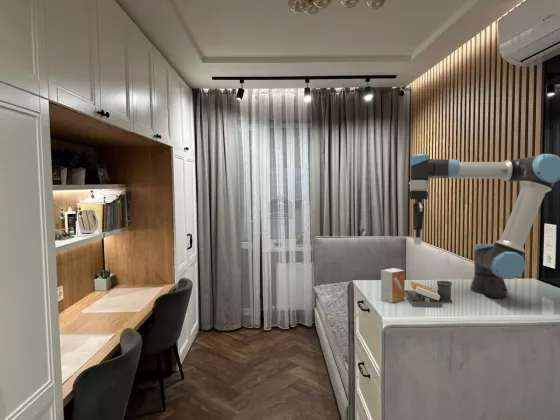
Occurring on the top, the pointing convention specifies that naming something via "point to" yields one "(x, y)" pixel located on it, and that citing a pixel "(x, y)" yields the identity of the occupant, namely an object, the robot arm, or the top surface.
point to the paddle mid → (421, 287)
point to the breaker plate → (421, 300)
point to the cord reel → (444, 291)
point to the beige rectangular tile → (427, 293)
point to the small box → (392, 285)
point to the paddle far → (418, 284)
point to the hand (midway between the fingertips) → (417, 244)
